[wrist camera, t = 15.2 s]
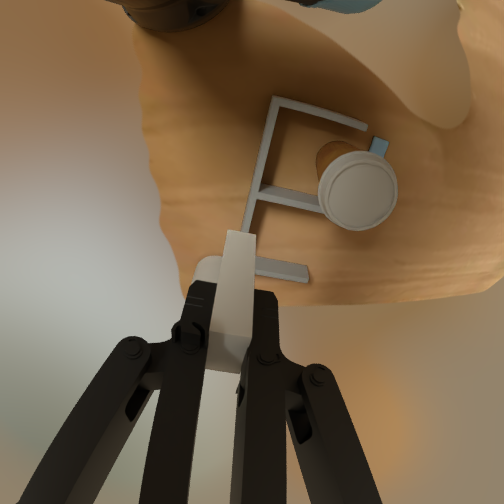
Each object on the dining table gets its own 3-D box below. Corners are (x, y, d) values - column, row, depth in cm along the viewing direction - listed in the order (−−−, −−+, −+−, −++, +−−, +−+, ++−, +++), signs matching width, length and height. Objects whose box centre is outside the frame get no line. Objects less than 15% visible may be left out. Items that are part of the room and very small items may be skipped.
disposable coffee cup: (309, 196, 41) (324, 240, 32) (299, 135, 36) (314, 161, 26) (369, 186, 40) (400, 227, 30) (364, 126, 35) (401, 150, 25)
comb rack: (272, 94, 33) (273, 96, 30) (359, 120, 34) (368, 124, 31) (234, 256, 49) (232, 270, 46) (304, 269, 50) (307, 283, 47)
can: (220, 245, 47) (209, 296, 38) (247, 274, 51) (243, 326, 41) (188, 265, 50) (172, 315, 40) (215, 290, 53) (205, 341, 44)
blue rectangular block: (374, 136, 35) (375, 136, 35) (387, 141, 35) (389, 142, 35) (349, 201, 42) (350, 202, 41) (363, 205, 42) (364, 206, 41)
